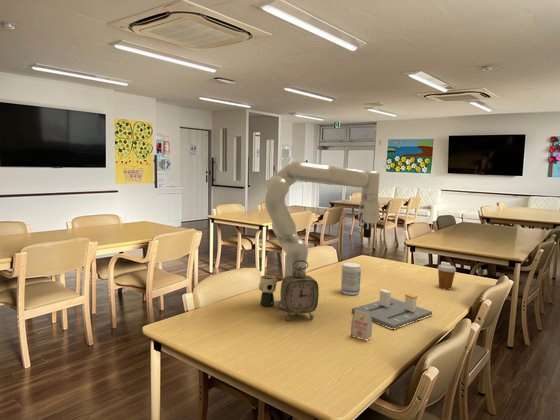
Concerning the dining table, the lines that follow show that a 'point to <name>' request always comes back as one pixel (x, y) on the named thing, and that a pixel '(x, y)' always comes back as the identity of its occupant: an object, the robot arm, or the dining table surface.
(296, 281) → the tabletop clock
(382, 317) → the panel
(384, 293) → the fader cream
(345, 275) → the supplement tub
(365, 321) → the tea bag
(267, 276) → the character mug
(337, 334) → the dining table surface
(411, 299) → the fader orange
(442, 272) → the disposable coffee cup
